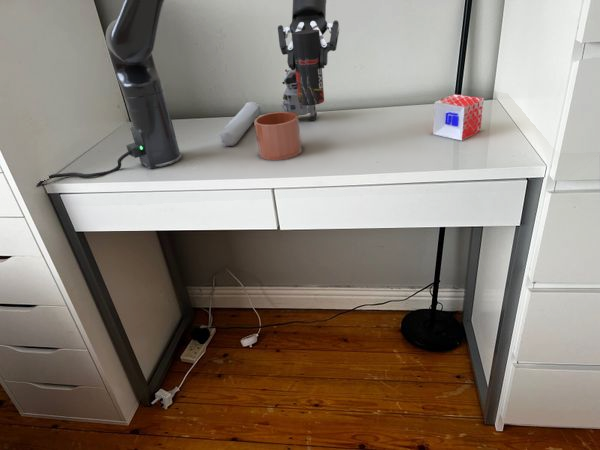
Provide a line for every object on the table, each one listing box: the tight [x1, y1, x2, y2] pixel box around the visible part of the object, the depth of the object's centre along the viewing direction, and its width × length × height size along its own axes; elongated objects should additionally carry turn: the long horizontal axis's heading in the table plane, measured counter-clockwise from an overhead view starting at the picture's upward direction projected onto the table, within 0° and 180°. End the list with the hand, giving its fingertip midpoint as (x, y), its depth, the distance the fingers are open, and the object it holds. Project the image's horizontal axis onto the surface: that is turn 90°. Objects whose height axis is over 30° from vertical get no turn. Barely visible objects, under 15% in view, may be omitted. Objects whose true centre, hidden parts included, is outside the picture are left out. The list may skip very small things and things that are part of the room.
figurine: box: [280, 67, 318, 122], centre depth 126 cm, size 9×12×15 cm
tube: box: [219, 101, 261, 147], centre depth 126 cm, size 5×5×25 cm
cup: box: [253, 111, 302, 161], centre depth 108 cm, size 10×10×8 cm
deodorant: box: [291, 30, 325, 106], centre depth 99 cm, size 6×6×15 cm
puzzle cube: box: [432, 93, 485, 141], centre depth 107 cm, size 8×8×8 cm
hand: (307, 67), depth 98 cm, fingers closed on deodorant, 6 cm apart
